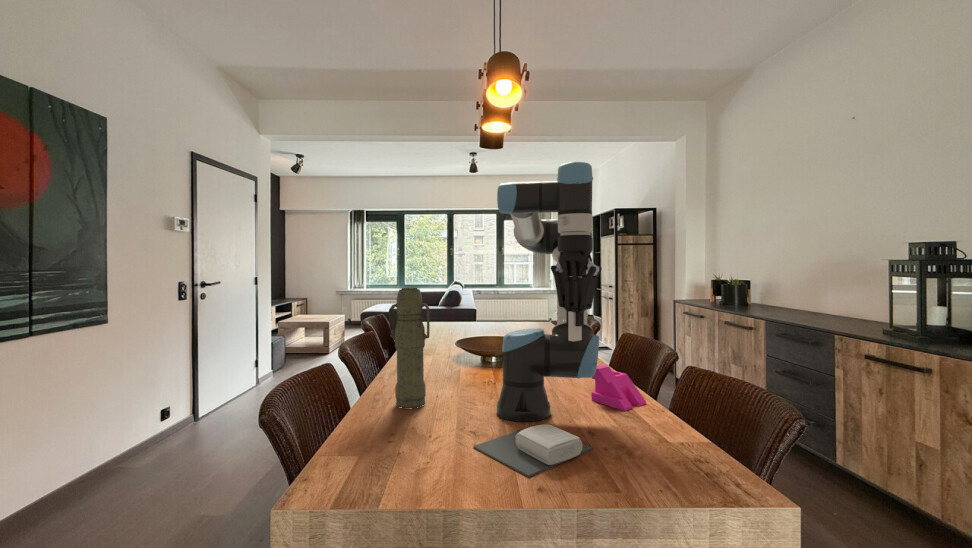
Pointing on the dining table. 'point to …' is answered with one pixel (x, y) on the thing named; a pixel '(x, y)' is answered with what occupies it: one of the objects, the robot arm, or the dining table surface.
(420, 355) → the thermos
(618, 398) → the bracket
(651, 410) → the dining table surface
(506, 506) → the dining table surface
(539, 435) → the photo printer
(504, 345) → the robot arm
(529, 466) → the mat
